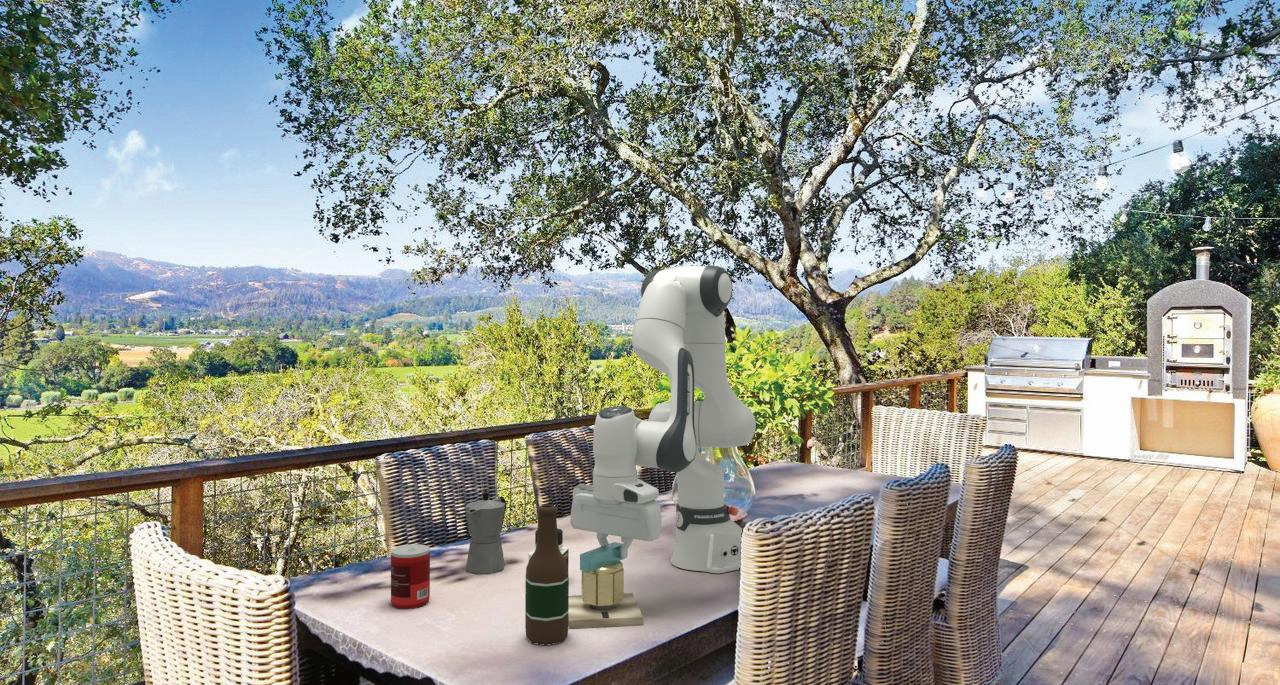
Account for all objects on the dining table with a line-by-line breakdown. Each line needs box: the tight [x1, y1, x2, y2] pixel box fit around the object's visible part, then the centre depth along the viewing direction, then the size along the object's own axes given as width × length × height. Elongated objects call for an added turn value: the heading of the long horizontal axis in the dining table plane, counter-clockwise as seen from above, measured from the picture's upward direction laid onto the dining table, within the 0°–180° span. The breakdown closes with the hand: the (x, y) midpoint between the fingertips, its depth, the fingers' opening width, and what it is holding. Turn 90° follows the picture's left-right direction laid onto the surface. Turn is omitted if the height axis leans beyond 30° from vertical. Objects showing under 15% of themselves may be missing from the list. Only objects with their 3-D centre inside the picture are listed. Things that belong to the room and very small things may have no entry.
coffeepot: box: [465, 491, 507, 575], centre depth 186 cm, size 15×9×18 cm, turn 159°
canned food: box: [390, 543, 431, 610], centre depth 162 cm, size 8×8×11 cm
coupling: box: [579, 541, 625, 606], centre depth 156 cm, size 8×11×10 cm
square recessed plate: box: [568, 592, 644, 629], centre depth 156 cm, size 14×14×6 cm
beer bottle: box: [524, 504, 570, 646], centre depth 144 cm, size 8×8×24 cm
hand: (614, 556), depth 160 cm, fingers closed on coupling, 2 cm apart
